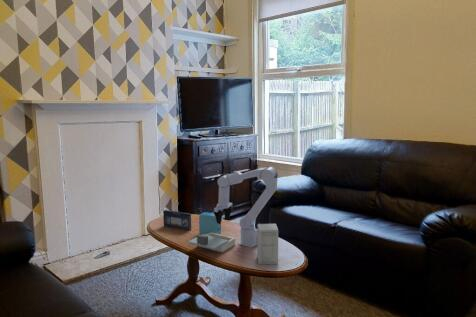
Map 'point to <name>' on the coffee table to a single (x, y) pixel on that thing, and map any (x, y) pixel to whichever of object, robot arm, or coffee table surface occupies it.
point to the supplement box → (267, 243)
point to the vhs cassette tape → (177, 220)
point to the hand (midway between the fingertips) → (222, 221)
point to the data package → (208, 224)
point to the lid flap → (208, 241)
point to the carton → (226, 246)
